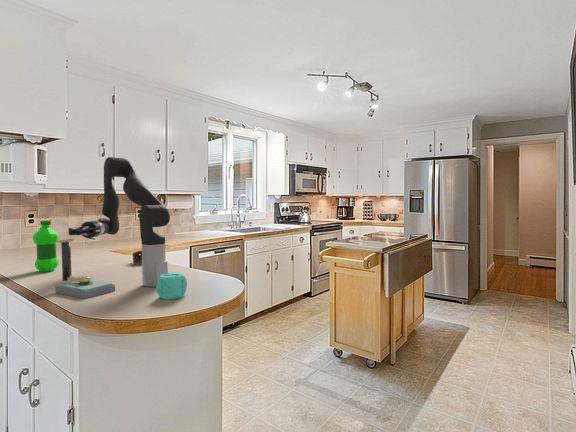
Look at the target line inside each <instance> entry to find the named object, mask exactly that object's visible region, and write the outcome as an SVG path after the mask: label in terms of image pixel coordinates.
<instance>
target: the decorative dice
mask: <svg viewBox="0 0 576 432" xmlns="http://www.w3.org/2000/svg"><path fill="white" fill-rule="evenodd" d="M187 287H188V282H187V278H186V276H185V275H184V274H183V273H179V272H168V273H167V274H163V275H161V276H160V277H159V279H158V281H157V285H156V287H155V289H156V290H155V291H156V293H157V295H158V297H159V298H161V299H162V300H168V301H169V300H170V301H171V300H177V299H180V298H182V297H184V296H185V294H186V292H187Z"/></svg>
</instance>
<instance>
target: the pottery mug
mask: <svg viewBox="0 0 576 432" xmlns="http://www.w3.org/2000/svg"><path fill="white" fill-rule="evenodd" d="M131 255H132V263H133V265H134V266H136V264H139V263H142V250H137V251H134V252H133V253H132V254H131Z"/></svg>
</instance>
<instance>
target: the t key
mask: <svg viewBox="0 0 576 432" xmlns="http://www.w3.org/2000/svg"><path fill="white" fill-rule="evenodd" d="M71 242H74V238H66V239H59V240H58V242H57V243H58V244H61V267H62V269H61V271H62V272H61V273H62V281H63V282H65V281H66V282H73V281H74V282H80V283H81V284H85V283H90V282H91V280H92V279H91V278H92V277H91V276H89V275H87V276H73V275H72V253H71V251H72V250H71Z"/></svg>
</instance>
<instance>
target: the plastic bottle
mask: <svg viewBox="0 0 576 432" xmlns="http://www.w3.org/2000/svg"><path fill="white" fill-rule="evenodd" d="M39 224H40V226H41V228H40V229H39V230H37V231H36V232H35V233H33V236H32V241H33V243H34V244H35V245H36V260H35V262H34V267H35V269H36V270H38V271H39V272H41V273H49V271H50V272H53V271H54V270H55V269H57V267H58V266H59V265H60V261H59V259H58V257H57V243H58V240H60V235H59V233H58V232H57V231H56V230H54V229H52V228H51V225H52V222H51V220H41V221H40V222H39Z"/></svg>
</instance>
